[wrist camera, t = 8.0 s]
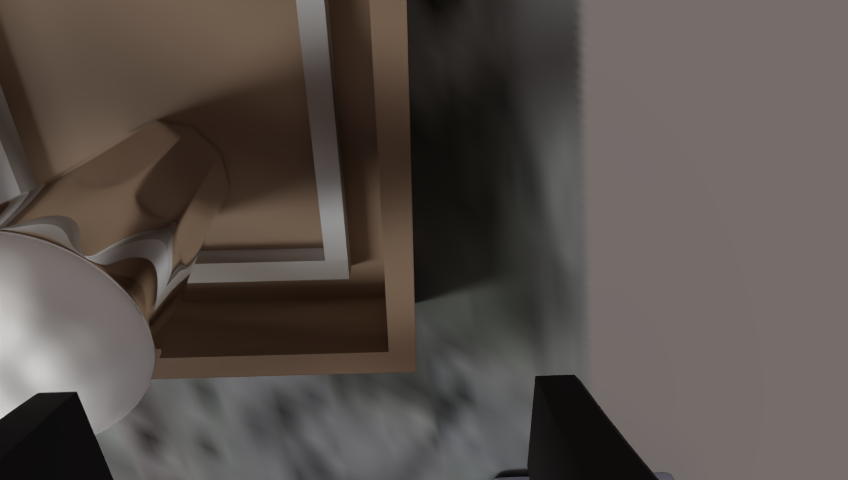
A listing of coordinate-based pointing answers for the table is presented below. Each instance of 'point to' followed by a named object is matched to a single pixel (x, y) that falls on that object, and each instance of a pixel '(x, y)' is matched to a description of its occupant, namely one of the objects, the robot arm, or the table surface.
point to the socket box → (244, 162)
